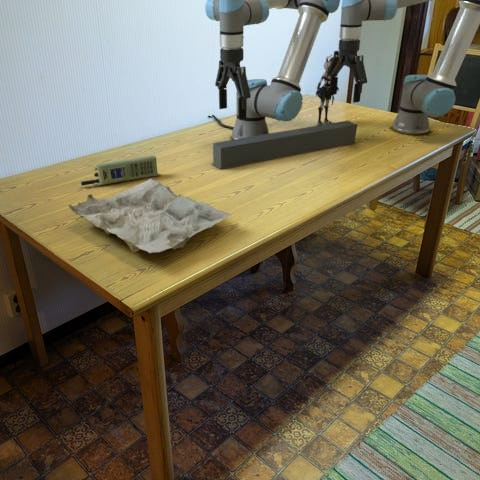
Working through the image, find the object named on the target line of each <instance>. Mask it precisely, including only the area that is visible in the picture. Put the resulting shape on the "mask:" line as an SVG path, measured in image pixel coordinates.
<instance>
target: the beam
mask: <svg viewBox="0 0 480 480" xmlns="http://www.w3.org/2000/svg"><path fill="white" fill-rule="evenodd" d="M357 129H358V124H357V123H355V122H353V121H350V120H343V121H337V122H331V123H330V124H327V123H323V125H318V124H317V125H313V126H307V127H301V128H295V129H289V130H282V131H277V132H271V133H270V132H269V134H264V135H258V136H253V137H247V138H241V139H235V140H233V139H230V140H224V141H217V142H213V143H212V164H213V165H214V166H215V167H217V168H219V169H220V170H223V169H224V170H225V169H228V168H234V167H238V166H244V165H250V164H255V163H259V162H266V161H270V160H275V159H280V158H285V157H290V156H296V155H301V154H305V153H311V152H317V151H322V150H326V149H327V150H328V149H332V148H337V147H342V146H347V145H352V144H355V143H356V137H357V131H358V130H357Z"/></svg>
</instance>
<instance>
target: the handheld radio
mask: <svg viewBox="0 0 480 480" xmlns="http://www.w3.org/2000/svg"><path fill="white" fill-rule="evenodd" d="M157 164H158V163H157V156H156V155H147V156H141V157H140V156H139V157H134V158H127V159H121V160H115V161H108V162H101V163H96V164H93V167H94V168H93V171H97V172H95V173H94V174H93V175H94V177H96V179H90V180H83V181H82V180H81V181H80V185H81V186H88V185H93V184H94V185H96V186H97V187H98V186H99V187H100V186H105V185H109V184H115V183H121V182H128V181H134V180H139V179H144V178H151V177H156V176H158V175H159V174H158V165H157Z"/></svg>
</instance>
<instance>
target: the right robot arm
mask: <svg viewBox="0 0 480 480" xmlns="http://www.w3.org/2000/svg"><path fill="white" fill-rule="evenodd" d="M431 1H432V0H341V6H340V7H341V13H340V25H339V35H338V36H339V40H338V50H334V51H333V55H332V57H333V59H332V61H331V64H330V66H329V69H328V71H327V74H328V75H330V77H331V80H330V85H331V88H330V95H334V96H335V95H338V92H337V91H338V89H337V86H338V82H339V77H338V74H339V73H340V72H341V71H342V69H343V67H344V66H345V67H347V68H348V69H350V71H351V73H352V76H353V78H354V81H355V83H354V87H353V97H352V103H354V104H355V103H359V102H361V94H362V92H363V85H365V84H368V78H367V73H366V68H365V62H364V55H363V54H361V55H360V54H359V55H358V52H359V51H360V49H361V48H360V47H361V40H360V39H361V35H362V27H363V22H366V21H367V22H369V21H384V22H385V21H392V20H393V19H394V18H395V17H396V15H397V12H398V9H403V8H406V7H410V6H414V5H418V4H422V3H426V2H431ZM458 4H459V10H458V12H457V14H456V17H455V19H454V22H453V24H452V27H451V30H450V31H449V34H448V36H447V39H446V40H445V43H444V46H443V47H442V50H441V52H440V55H439V57H438V59H437V61H436V64H435V67H434V69H433V71H432V73H430V74H407V75H406V76H405V77H404V81H403V85H402V92H401V93H402V94H401V98H400V104H399V111H398V112H397V115H396V117H395V118H394V120H393V123H392V127H391V128H392V130H393V131H395V132H397V133H399V134H400V133H401V134H403V135H410V136H411V135H412V136H421V135H426V134H428V133H429V131H430V119H429V116H430V117H434V118H440V117H443V116H445V115H447V114H448V113H449V112H450V111H451V110H452V109H453V107H454V106H455V104H456V103H455V102H456V94H455V90H456V88H457V82H456V78H457V75H458V73H459V71H460V68H461V66H462V64H463V61H464V60H465V57H466V55H467V53H468V51H469V48H470V46H471V44H472V42H473V39H474V37H475V35H476V33H477V31H478V29H479V26H480V0H458ZM331 70H332V71H331Z"/></svg>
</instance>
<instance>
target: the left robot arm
mask: <svg viewBox="0 0 480 480" xmlns="http://www.w3.org/2000/svg"><path fill="white" fill-rule="evenodd" d="M340 4H341V0H206V2H205V5H204V8H205V15H206V17H207V18H208V19H209V20H211V21H215V22H219V48H220V49H219V54H220V55H219V57H220V59H219V61H218V70H217V74H216V77H215V83H214V86H215V87H217V90H218V108H219V110H224V109H225V110H226V109H228V87H227V85H228V83H229V82H230V79H231V81H232V82H233V83H234V85H235V89H236V93H235V95H236V97H235V98H236V101H235V103H236V105H235V106H236V107H235V108H236V119H235V123H234V125H233V126H231V125H228V124H224V123H222V122H221V120H220V119H219V118H217V116H216V115H214V114H213V115H212V116H209V115H208V116H207V118H211V117H212V118H213V119H214V120H215V121H216V122H217V123H218V125H219V126H220V127H223V128H226V129H231V130H232V133H231V140H235V139H241V138H247V137H253V136H258V135H264V134H270V130H269V127H268V124H267V121H266V118H269V119H273V120H275V121H277V122H280V121H281V122H290V121H292V120H293V119H295V118H297V116H298V115H299V114H300V112H301V110H302V107H303V104H304V103H303V100H304V98H303V94H302V93H301V91H302V88H301V86H300V85H301V84H300V82H301V79H302V77H303V74H304V71H305V69H306V66H307V63H308V61H309V57H310V56H311V52H312V50H313V47H314V45H315V41H316V38H317V36H318V33H319V30H320V28H321V25H322V24H323V23H325V22H326V21H327V20H328V18H329V15H330V14H333V13H336V12H337V10H338V9H339V7H340ZM271 9H272V10H273V9H276V10H283V9H289V10H290V9H291V10H296V11H297V12H298V14H299V17H298V19H297V22H296V24H295V27H294V31H293V32H292V35H291V38H290V40H289V44H288V47H287V49H286V52H285V55H284V57H283V60H282V63H281V66H280V67H279V71H278V74H277V76H275V77H273V78H271V81H270V84H269V85H268V81H267V79H264V78H253V79H248V77H247V68H246V66H245V65H243V66H241V62H243V60H244V39H245V36H244V32H245V31H244V27H246V26H253V25H260V24H263V23H264V22H266V21H267V20H268V18H269V16H270V10H271Z"/></svg>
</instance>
